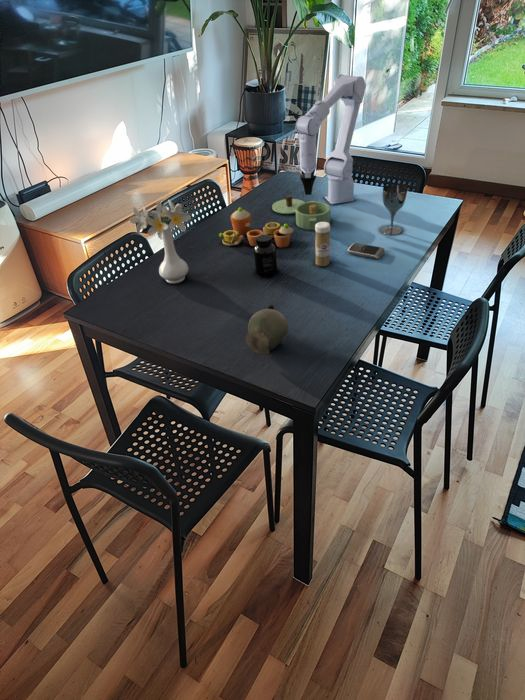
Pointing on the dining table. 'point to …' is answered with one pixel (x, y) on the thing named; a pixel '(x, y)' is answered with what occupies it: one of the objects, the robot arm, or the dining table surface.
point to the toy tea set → (243, 225)
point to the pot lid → (287, 205)
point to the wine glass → (393, 204)
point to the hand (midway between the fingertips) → (308, 190)
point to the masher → (312, 209)
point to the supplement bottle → (265, 256)
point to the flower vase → (165, 237)
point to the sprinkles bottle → (322, 243)
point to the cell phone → (366, 250)
